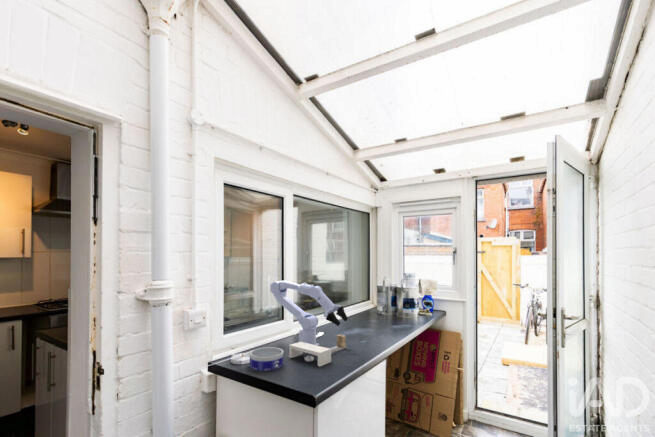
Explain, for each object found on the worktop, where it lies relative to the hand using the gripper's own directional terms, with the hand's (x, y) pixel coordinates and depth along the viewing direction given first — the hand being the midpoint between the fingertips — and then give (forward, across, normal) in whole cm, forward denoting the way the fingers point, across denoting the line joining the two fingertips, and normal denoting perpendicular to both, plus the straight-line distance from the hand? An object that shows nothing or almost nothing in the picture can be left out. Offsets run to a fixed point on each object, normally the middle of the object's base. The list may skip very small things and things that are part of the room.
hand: (343, 322), depth 172 cm
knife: (-11, +15, +34) cm, 39 cm away
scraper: (+6, -8, +13) cm, 16 cm away
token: (+4, -24, +12) cm, 27 cm away
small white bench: (+3, -24, +11) cm, 27 cm away
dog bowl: (-7, -41, +18) cm, 45 cm away
